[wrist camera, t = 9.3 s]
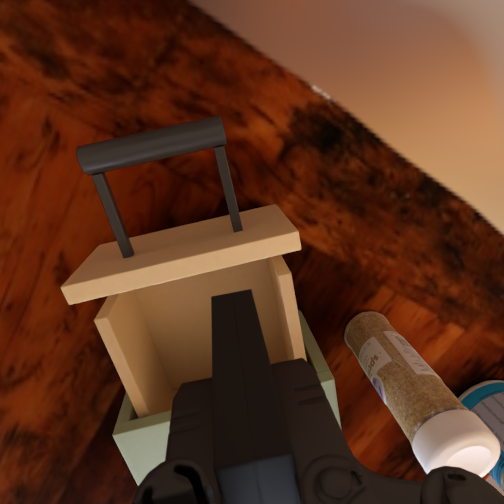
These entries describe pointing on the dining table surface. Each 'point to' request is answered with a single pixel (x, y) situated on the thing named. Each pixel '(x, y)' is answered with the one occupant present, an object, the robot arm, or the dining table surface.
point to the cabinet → (157, 426)
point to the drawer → (182, 273)
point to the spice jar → (420, 399)
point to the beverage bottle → (489, 416)
